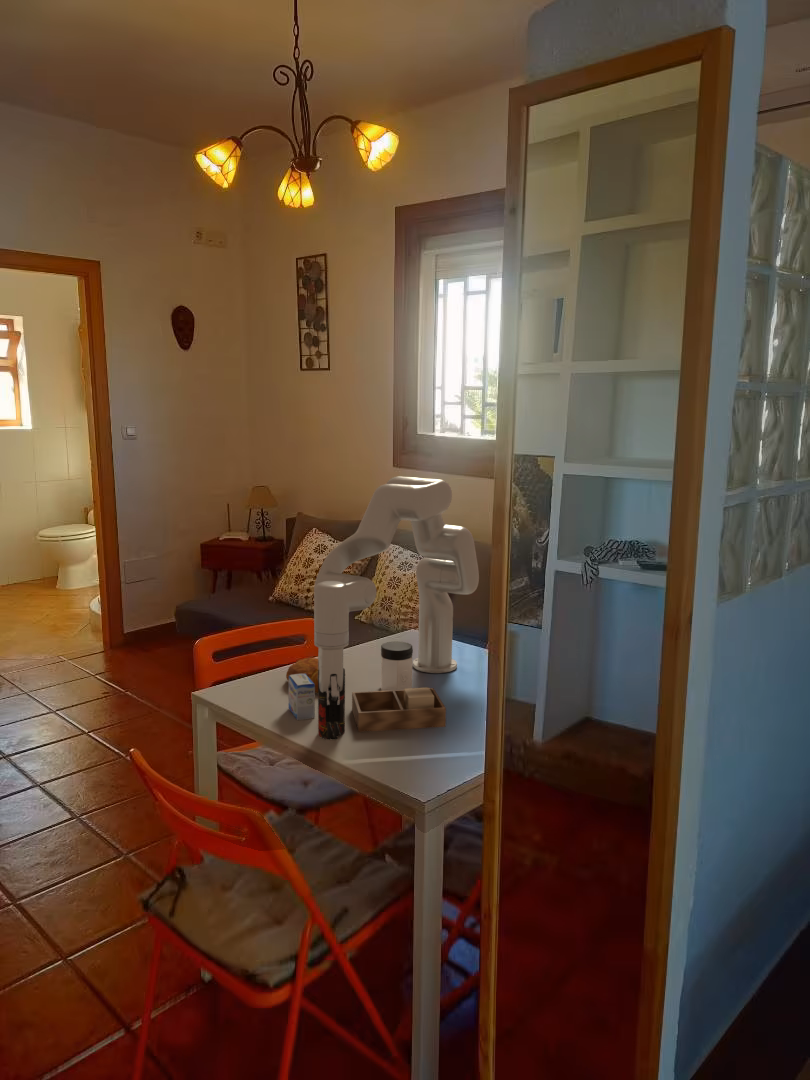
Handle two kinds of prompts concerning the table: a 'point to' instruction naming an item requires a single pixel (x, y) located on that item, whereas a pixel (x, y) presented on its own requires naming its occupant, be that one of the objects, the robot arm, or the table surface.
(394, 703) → the box
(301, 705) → the medicine box
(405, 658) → the jar
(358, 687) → the table surface
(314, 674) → the croissant
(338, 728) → the deodorant
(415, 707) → the beech block
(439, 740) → the table surface
